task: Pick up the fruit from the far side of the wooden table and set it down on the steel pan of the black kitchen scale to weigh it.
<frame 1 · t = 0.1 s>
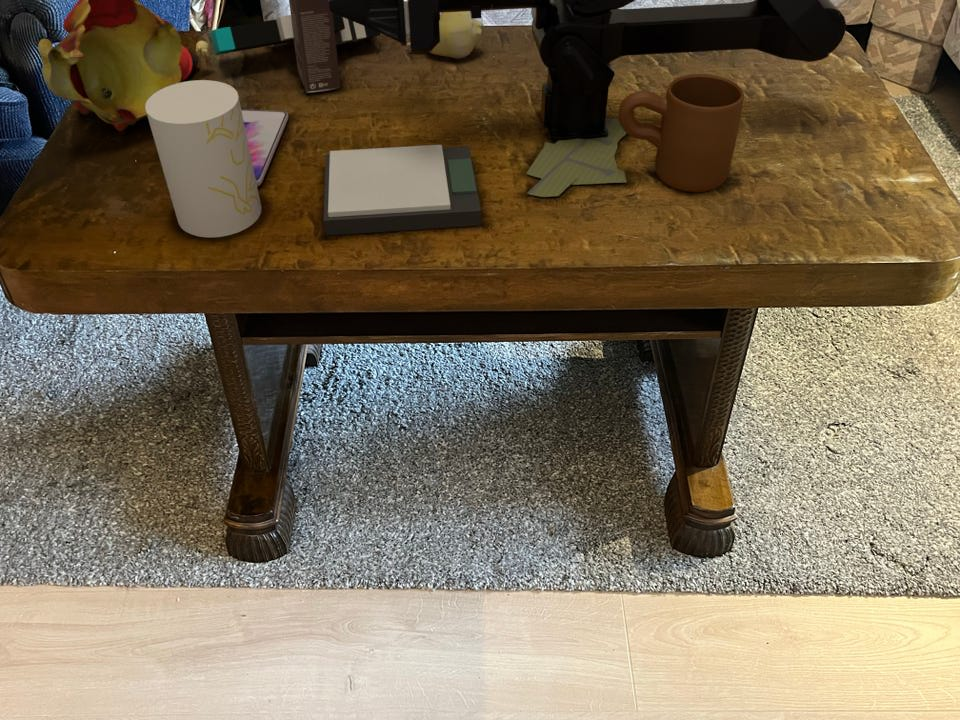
scale: (401, 196, 90), on the table
toy figurine: (181, 81, 108), on the table, touching toy 2
cup: (220, 214, 88), on the table
smartphone: (243, 151, 96), on the table
mug: (668, 175, 93), on the table
toy 2: (157, 96, 95), point 5 cm above the table, touching toy figurine
box: (320, 82, 108), on the table, touching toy
fruit: (445, 55, 113), on the table
map: (586, 159, 95), on the table, touching arm
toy: (213, 42, 107), point 4 cm above the table, touching box
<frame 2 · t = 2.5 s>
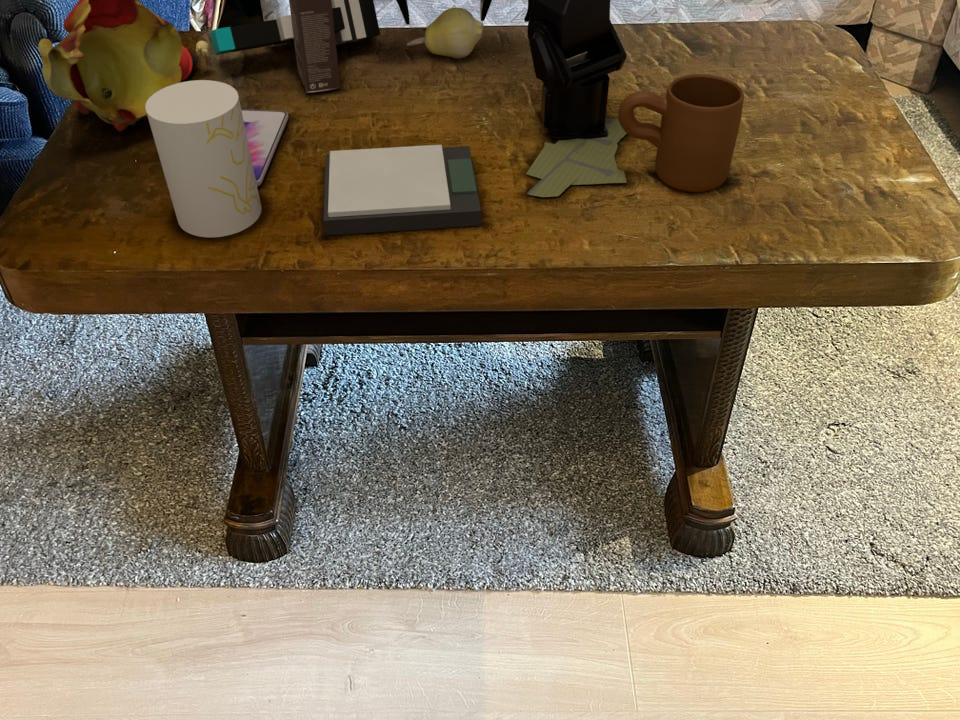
hand: (445, 21, 110), 4 cm above the table, tool pointing down, fingers open, 9 cm apart
fruit: (445, 55, 113), on the table, touching gripper
everything else where it was.
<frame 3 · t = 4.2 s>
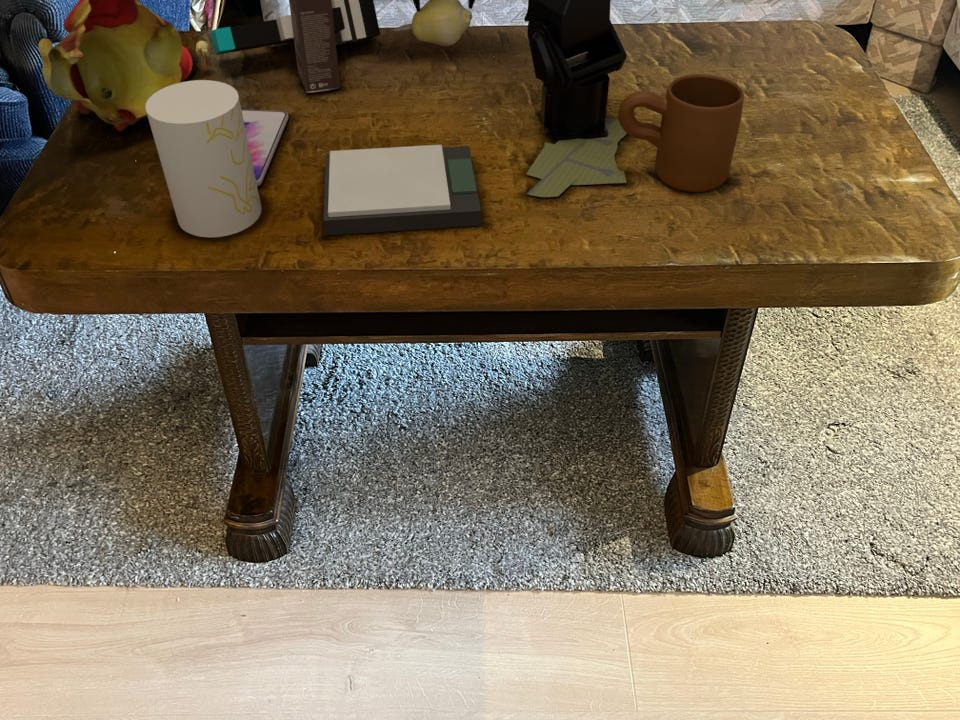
hand: (444, 8, 109), 6 cm above the table, tool pointing down, fingers closed on fruit, 6 cm apart
toy figurine: (181, 81, 108), on the table
toy 2: (157, 96, 95), point 5 cm above the table
fruit: (432, 43, 112), point 2 cm above the table, touching gripper
everything else where it was.
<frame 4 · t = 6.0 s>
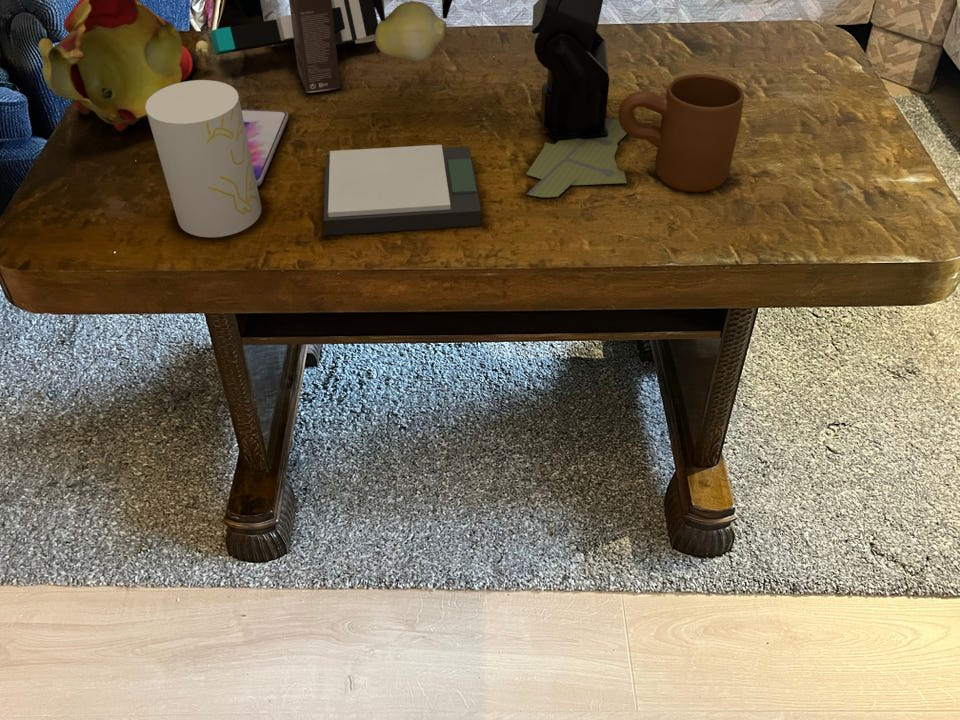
hand: (414, 18, 93), 12 cm above the table, tool pointing down, fingers closed on fruit, 6 cm apart
toy figurine: (181, 81, 108), on the table, touching toy 2
toy 2: (157, 96, 95), point 5 cm above the table, touching toy figurine
fruit: (400, 57, 95), point 8 cm above the table, touching gripper
everything else where it was.
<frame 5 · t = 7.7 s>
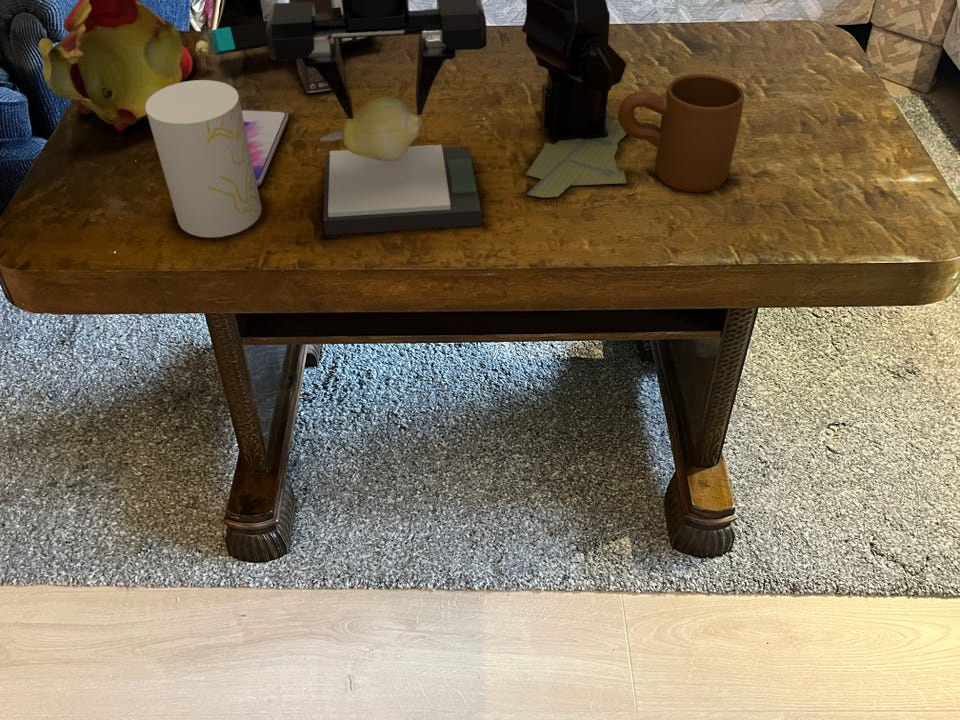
hand: (385, 114, 84), 9 cm above the table, tool pointing down, fingers closed on fruit, 6 cm apart
toy figurine: (181, 81, 108), on the table
toy 2: (157, 96, 95), point 5 cm above the table
fruit: (371, 155, 86), point 5 cm above the table, touching gripper
everything else where it was.
when the fingers open (7 cm above the table, at t = 8.9 s): fruit stays where it is, resting on scale.
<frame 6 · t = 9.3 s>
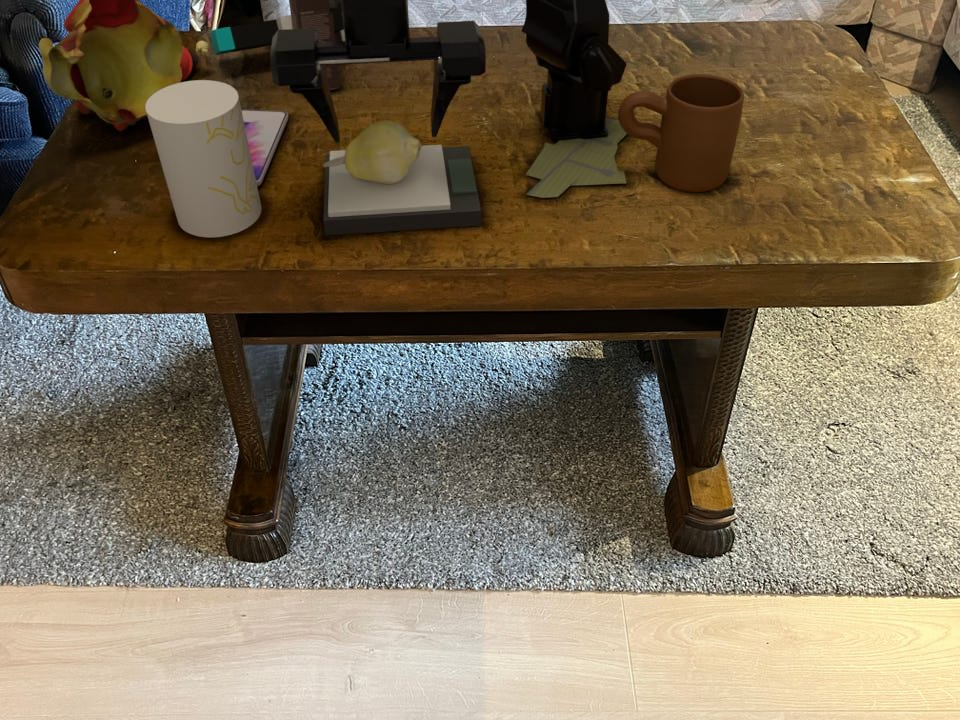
hand: (386, 137, 85), 7 cm above the table, tool pointing down, fingers open, 9 cm apart
fruit: (374, 178, 88), point 2 cm above the table, touching scale
everything else where it was.
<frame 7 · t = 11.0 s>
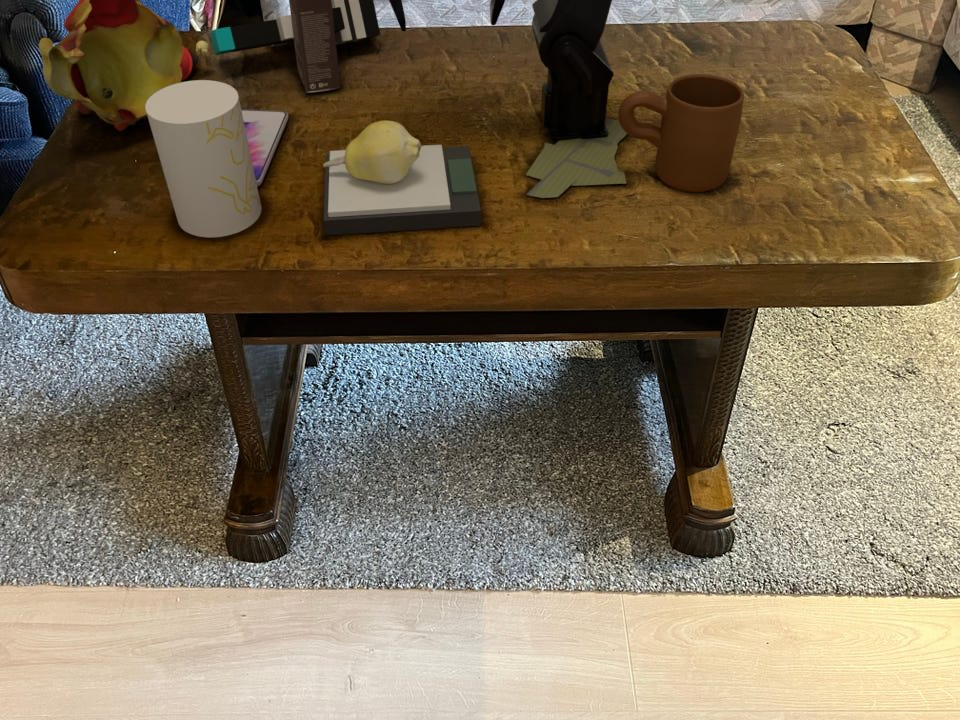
hand: (448, 26, 91), 12 cm above the table, tool pointing down, fingers open, 9 cm apart
toy figurine: (181, 81, 108), on the table, touching toy 2
toy 2: (157, 96, 95), point 5 cm above the table, touching toy figurine
everything else where it was.
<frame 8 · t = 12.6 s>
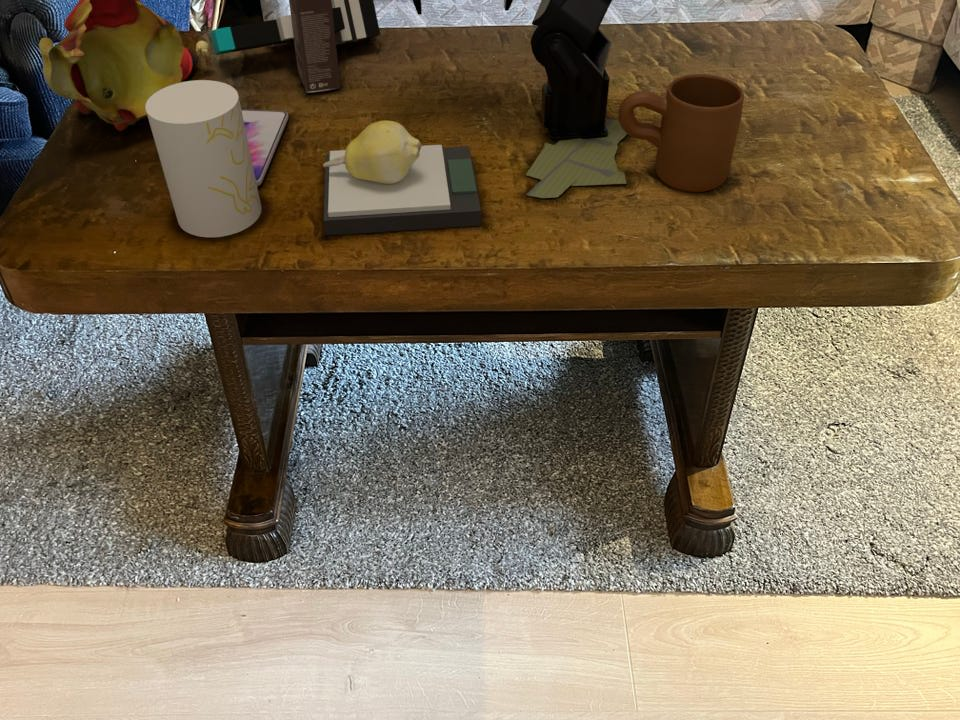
hand: (463, 11, 94), 12 cm above the table, tool pointing down, fingers open, 9 cm apart
nothing on the table moved.
at the end: fruit inside the target area on the scale (1.6 cm from its centre), point 2.2 cm above the scale's base; the gripper is holding nothing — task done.
